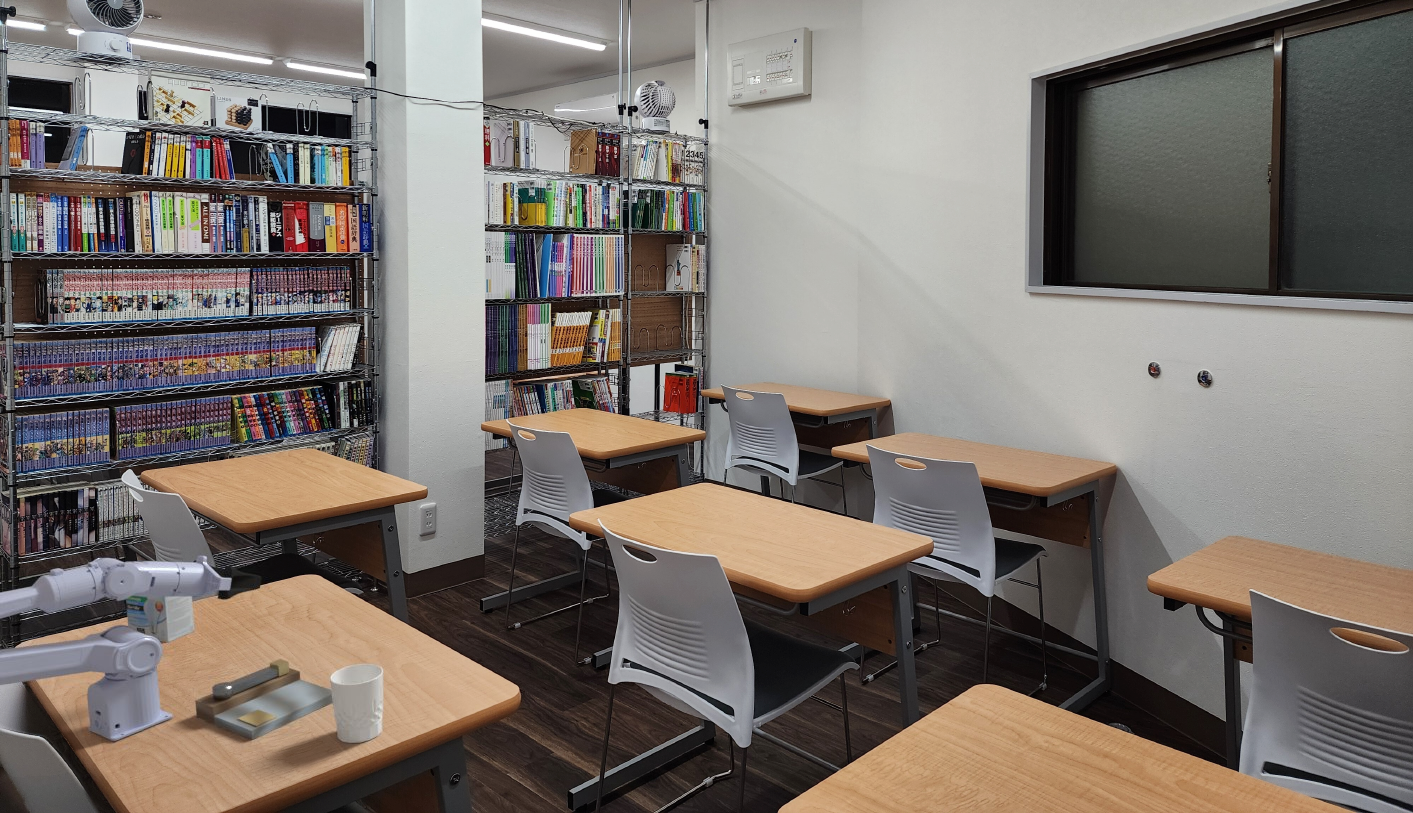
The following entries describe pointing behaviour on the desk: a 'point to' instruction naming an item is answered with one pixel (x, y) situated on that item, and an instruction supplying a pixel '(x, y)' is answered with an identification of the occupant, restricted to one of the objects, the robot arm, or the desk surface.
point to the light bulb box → (161, 616)
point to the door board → (264, 705)
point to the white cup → (358, 702)
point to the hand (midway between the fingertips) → (247, 580)
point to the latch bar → (250, 680)
